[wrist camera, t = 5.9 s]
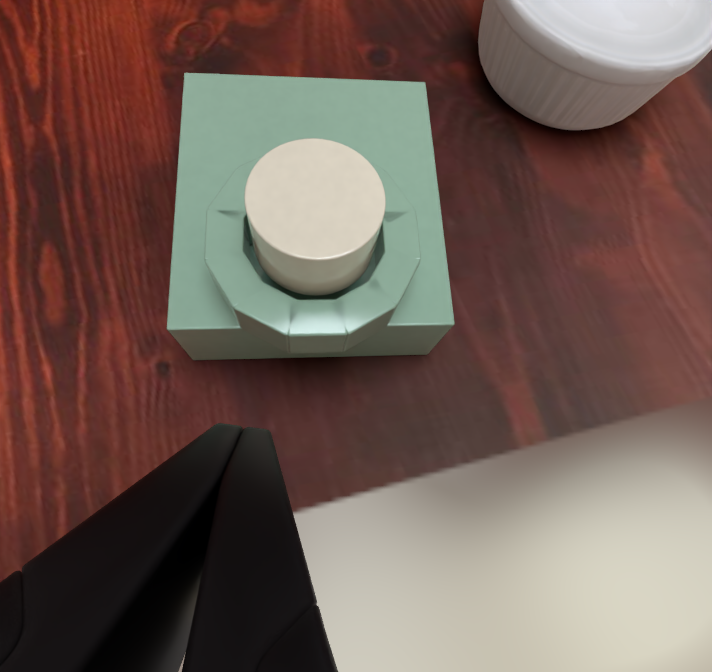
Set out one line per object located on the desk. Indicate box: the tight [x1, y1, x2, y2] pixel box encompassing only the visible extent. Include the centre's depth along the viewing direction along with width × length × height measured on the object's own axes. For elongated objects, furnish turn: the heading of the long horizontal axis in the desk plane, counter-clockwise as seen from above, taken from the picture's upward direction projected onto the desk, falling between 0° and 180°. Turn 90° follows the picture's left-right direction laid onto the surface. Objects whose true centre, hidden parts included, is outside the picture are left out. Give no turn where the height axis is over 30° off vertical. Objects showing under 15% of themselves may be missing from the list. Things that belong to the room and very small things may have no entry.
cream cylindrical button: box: [244, 138, 386, 296], centre depth 15 cm, size 4×4×2 cm
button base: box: [167, 73, 455, 360], centre depth 19 cm, size 12×10×6 cm
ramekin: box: [478, 0, 712, 130], centre depth 25 cm, size 11×11×5 cm
